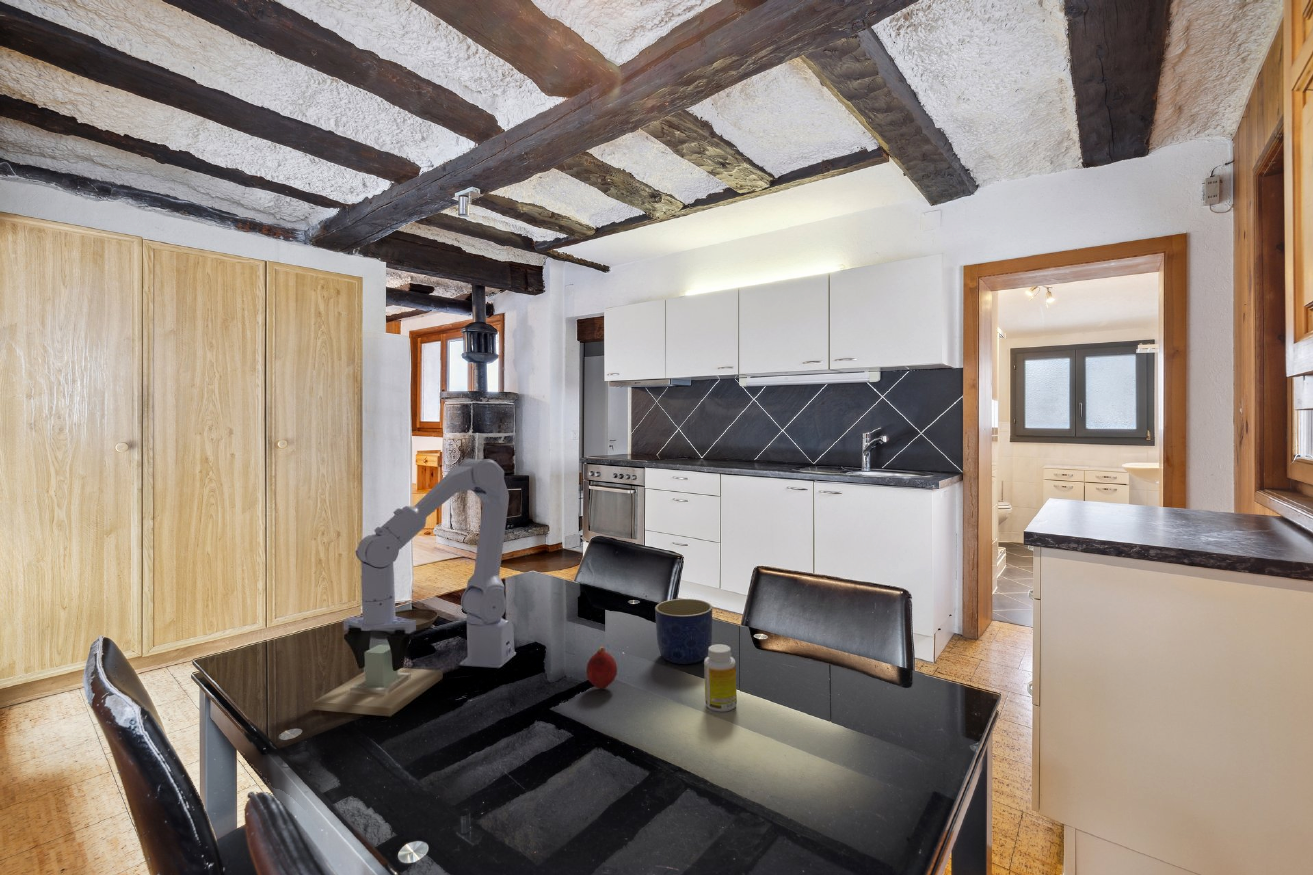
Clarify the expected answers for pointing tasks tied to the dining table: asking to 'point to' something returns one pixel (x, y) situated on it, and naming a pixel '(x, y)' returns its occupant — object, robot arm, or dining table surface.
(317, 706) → the display plinth
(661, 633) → the planter
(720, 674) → the supplement bottle
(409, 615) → the saucer
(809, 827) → the dining table surface
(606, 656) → the onion
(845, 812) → the dining table surface
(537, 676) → the dining table surface
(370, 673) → the sage block
